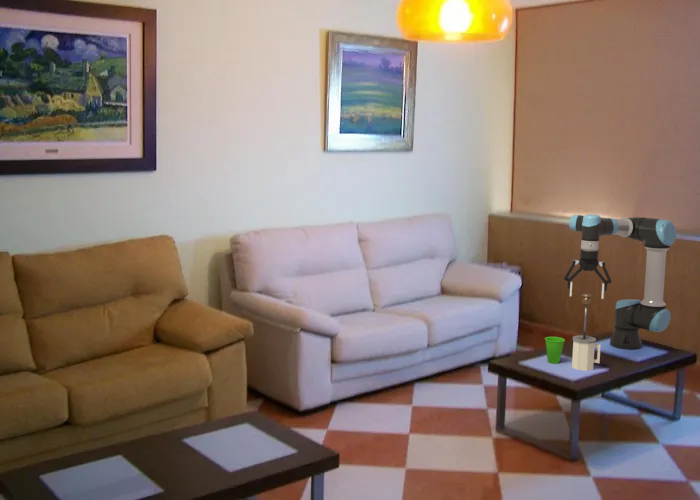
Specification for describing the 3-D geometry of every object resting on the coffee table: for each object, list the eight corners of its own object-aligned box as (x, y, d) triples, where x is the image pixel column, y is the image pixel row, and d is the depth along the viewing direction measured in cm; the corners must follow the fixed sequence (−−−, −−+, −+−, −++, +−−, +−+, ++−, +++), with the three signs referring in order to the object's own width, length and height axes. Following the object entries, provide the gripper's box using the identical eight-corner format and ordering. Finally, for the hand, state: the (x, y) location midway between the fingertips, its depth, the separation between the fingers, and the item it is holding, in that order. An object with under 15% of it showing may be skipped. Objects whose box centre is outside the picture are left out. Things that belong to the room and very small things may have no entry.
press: (571, 363, 374) (572, 334, 372) (598, 365, 371) (600, 337, 369) (571, 369, 364) (572, 340, 362) (599, 372, 361) (601, 342, 359)
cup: (562, 360, 379) (563, 337, 378) (565, 365, 370) (566, 342, 369) (542, 359, 380) (543, 336, 378) (544, 364, 371) (546, 341, 369)
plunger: (583, 340, 370) (586, 293, 367) (593, 343, 365) (596, 295, 362) (574, 341, 367) (577, 294, 364) (584, 345, 362) (587, 296, 359)
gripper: (560, 249, 359) (557, 296, 362) (619, 252, 353) (616, 300, 356) (560, 247, 366) (557, 293, 370) (618, 250, 360) (615, 297, 363)
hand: (586, 297), depth 363 cm, fingers open, 13 cm apart
